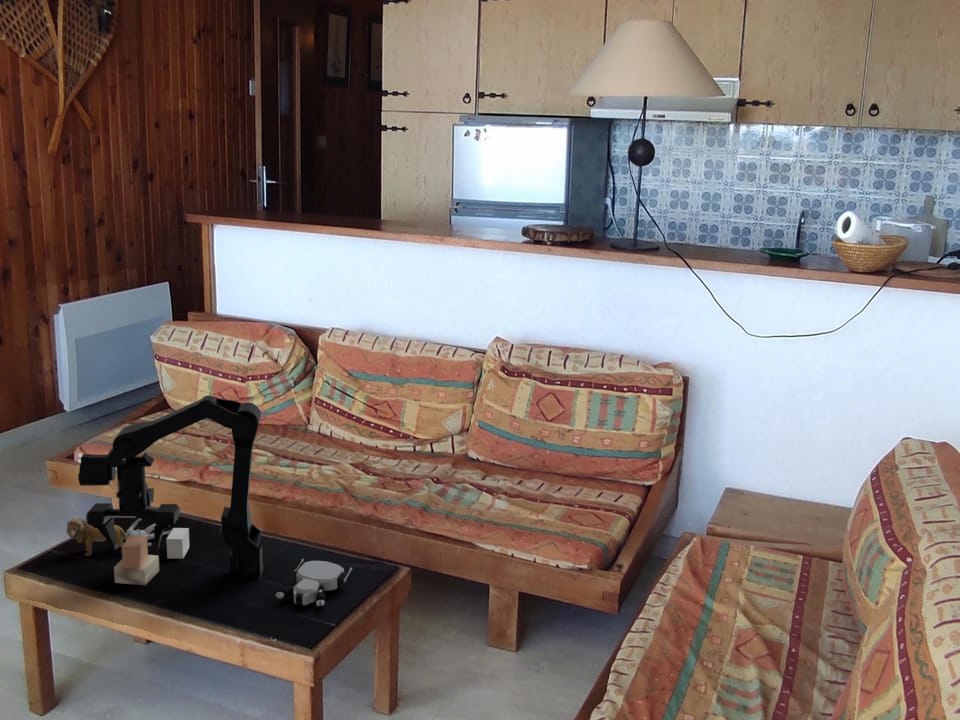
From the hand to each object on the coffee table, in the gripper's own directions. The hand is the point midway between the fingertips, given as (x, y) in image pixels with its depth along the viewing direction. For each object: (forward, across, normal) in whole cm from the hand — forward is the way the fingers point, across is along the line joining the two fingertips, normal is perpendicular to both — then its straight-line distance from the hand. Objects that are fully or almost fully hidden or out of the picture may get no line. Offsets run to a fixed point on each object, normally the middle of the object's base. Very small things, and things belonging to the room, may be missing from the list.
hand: (135, 549), depth 206 cm
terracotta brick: (+3, 0, 0) cm, 3 cm away
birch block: (+7, 0, 0) cm, 7 cm away
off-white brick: (+7, -6, -12) cm, 15 cm away
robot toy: (+7, -40, +7) cm, 41 cm away
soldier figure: (+7, +4, -18) cm, 20 cm away
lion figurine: (+7, +12, -12) cm, 18 cm away
